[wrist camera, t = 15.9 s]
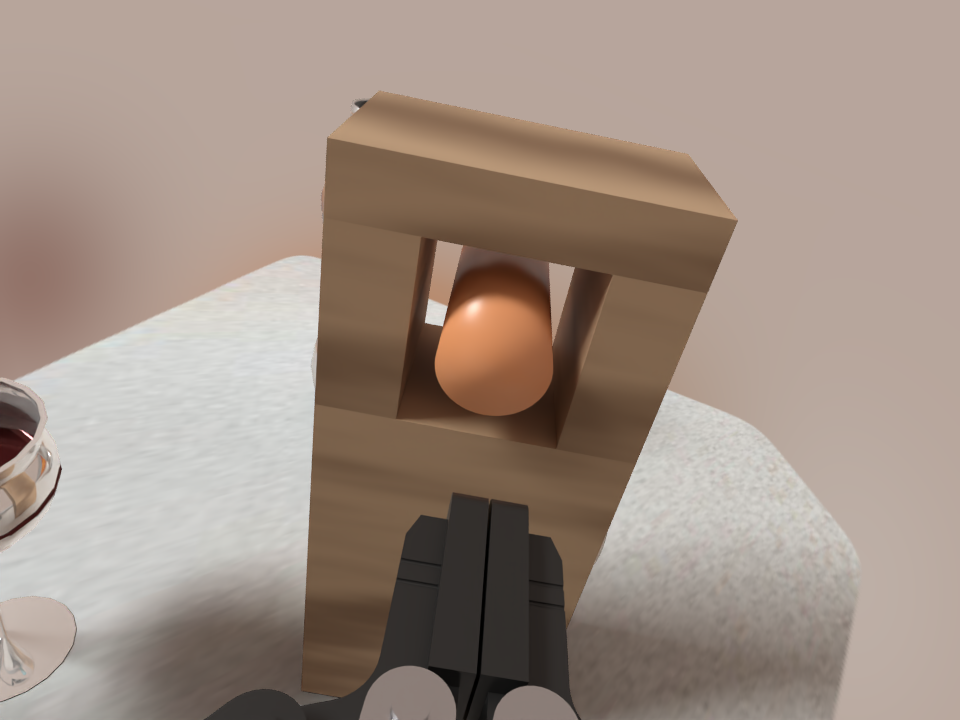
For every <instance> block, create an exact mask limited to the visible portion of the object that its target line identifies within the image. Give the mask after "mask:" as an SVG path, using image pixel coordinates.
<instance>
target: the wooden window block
mask: <svg viewBox="0 0 960 720" xmlns="http://www.w3.org/2000/svg"><path fill="white" fill-rule="evenodd" d="M737 222H738V220H737V219H736V217H735V216H734V215H733V213H732V212H731V211H730V209H729V208H728V207H727V205H726V204H725V203H724V201H723V200H722V199H721V197H720V196H719V195H718V193H717V192H716V191H715V189H714V188H713V187H712V185H711V184H710V183H709V182H708V180H707V179H706V177H705V176H704V175H703V173H702V172H701V171H700V169H699V168H698V167H697V165H696V164H695V163H694V161H693V160H692V159H691V157H690V156H689V155H688V154H685V153H680V152H675V151H671V150H665V149H661V148H656V147H651V146H646V145H641V144H636V143H632V142H627V141H621V140H617V139H612V138H607V137H602V136H597V135H593V134H588V133H583V132H578V131H573V130H568V129H563V128H558V127H554V126H549V125H544V124H539V123H534V122H529V121H524V120H519V119H515V118H510V117H505V116H500V115H495V114H490V113H485V112H480V111H476V110H471V109H466V108H460V107H456V106H451V105H446V104H441V103H437V102H432V101H427V100H422V99H417V98H412V97H407V96H403V95H398V94H392V93H388V92H382V91H379V92H377V93H376V94H375V95H374V96H373V97H372V98H371V99H370V100H369V101H367V102H366V103H365V104H364V105H363V106H362V107H361V108H360V109H359V110H357V111H356V112H355V113H354V114H353V115H352V116H351V117H350V118H349V119H347V120H346V121H345V122H344V123H343V124H342V125H341V126H340V127H339V128H337V129H336V130H335V131H334V132H333V133H332V134H331V135H330V136H329V137H328V138H327V155H326V175H325V196H324V217H323V239H322V260H321V281H320V302H319V323H318V344H317V366H316V387H315V408H314V429H313V450H312V471H311V493H310V514H309V535H308V556H307V577H306V599H305V620H304V641H303V662H302V683H301V691H306V692H312V693H318V694H323V695H329V696H335V697H344V696H346V695H349V694H350V693H352V692H354V691H355V690H357V689H358V688H359V687H361V686H362V685H363V684H364V683H365V682H366V681H367V680H368V679H369V678H370V676H371V675H372V673H373V672H374V670H375V668H376V666H377V664H378V661H379V657H380V653H381V649H382V644H383V639H384V635H385V630H386V625H387V620H388V616H389V611H390V606H391V601H392V597H393V592H394V587H395V583H396V578H397V573H398V568H399V564H400V559H401V554H402V549H403V545H404V540H405V535H406V533H407V532H408V530H409V529H410V528H411V527H412V525H413V524H414V523H415V522H416V520H417V519H418V518H419V517H420V515H426V516H431V517H437V518H443V519H446V518H447V514H448V509H449V504H450V500H451V495H452V492H455V493H461V494H466V495H472V496H478V497H483V498H488V499H489V503H490V500H491V499H496V500H501V501H507V502H513V503H518V504H524V505H528V509H529V534H535V535H541V536H547V537H551V539H552V541H553V543H554V545H555V547H556V549H557V551H558V553H559V555H560V557H561V559H562V564H563V582H564V586H563V590H564V600H565V607H564V611H565V618H566V629H567V626H568V624H569V622H570V619H571V617H572V615H573V612H574V610H575V607H576V605H577V603H578V600H579V598H580V596H581V593H582V591H583V588H584V586H585V584H586V581H587V579H588V576H589V574H590V572H591V569H592V567H593V565H594V564H595V563H596V561H597V559H598V558H599V556H600V554H601V551H602V549H603V546H604V543H605V539H606V536H607V532H608V529H609V526H610V524H611V522H612V519H613V517H614V515H615V512H616V510H617V507H618V505H619V503H620V500H621V498H622V495H623V493H624V491H625V488H626V486H627V484H628V481H629V479H630V476H631V474H632V472H633V469H634V467H635V465H636V462H637V460H638V457H639V455H640V453H641V450H642V448H643V445H644V443H645V441H646V438H647V436H648V434H649V431H650V429H651V426H652V424H653V422H654V419H655V417H656V414H657V412H658V410H659V407H660V405H661V403H662V400H663V398H664V395H665V393H666V391H667V388H668V385H669V384H670V381H671V379H672V376H673V374H674V372H675V369H676V367H677V364H678V362H679V360H680V357H681V355H682V352H683V350H684V348H685V345H686V343H687V341H688V338H689V336H690V333H691V331H692V329H693V326H694V324H695V322H696V319H697V317H698V314H699V312H700V310H701V307H702V305H703V303H704V300H705V298H706V295H707V292H708V291H709V288H710V286H711V283H712V281H713V279H714V276H715V274H716V272H717V269H718V267H719V264H720V262H721V260H722V257H723V255H724V252H725V250H726V247H727V245H728V243H729V241H730V238H731V236H732V233H733V231H734V229H735V226H736V224H737ZM437 240H439V241H444V242H450V243H454V244H460V245H465V246H470V247H475V248H480V249H485V250H490V251H495V252H500V253H505V254H510V255H515V256H520V257H525V258H530V259H535V260H541V261H546V262H551V263H556V264H561V265H566V266H571V267H575V269H574V273H573V276H572V280H571V283H570V287H569V290H568V294H567V298H566V301H565V304H564V308H563V311H562V315H561V318H560V322H559V326H558V329H557V333H556V336H555V339H554V343H553V346H552V350H553V375H552V380H551V383H550V385H549V387H548V389H547V391H546V392H545V394H544V395H543V396H542V397H541V398H540V399H539V400H538V401H537V402H536V403H535V404H533V405H532V406H530V407H529V408H527V409H525V410H523V411H520V412H518V413H514V414H510V415H504V416H489V415H482V414H478V413H474V412H472V411H469V410H467V409H465V408H463V407H461V406H460V405H458V404H456V403H455V402H454V401H453V400H451V399H450V398H449V397H448V396H447V394H446V393H445V392H444V391H443V389H442V388H441V386H440V384H439V382H438V379H437V376H436V372H435V357H436V353H437V349H438V345H439V341H440V337H441V333H442V329H443V327H442V326H437V325H432V324H427V323H425V317H426V311H427V304H428V298H429V291H430V284H431V278H432V271H433V265H434V258H435V252H436V245H437Z"/></svg>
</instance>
